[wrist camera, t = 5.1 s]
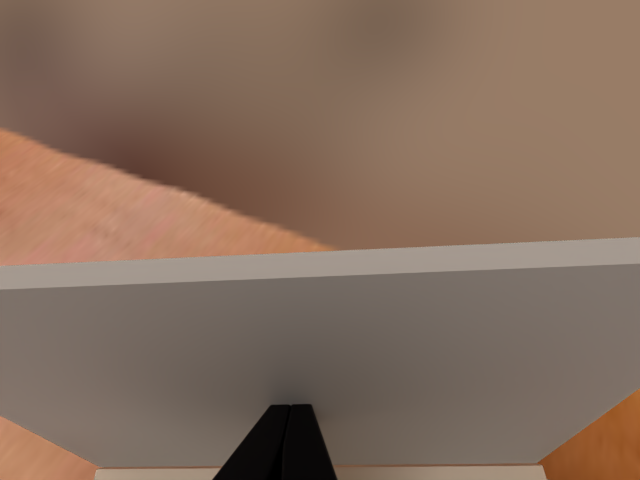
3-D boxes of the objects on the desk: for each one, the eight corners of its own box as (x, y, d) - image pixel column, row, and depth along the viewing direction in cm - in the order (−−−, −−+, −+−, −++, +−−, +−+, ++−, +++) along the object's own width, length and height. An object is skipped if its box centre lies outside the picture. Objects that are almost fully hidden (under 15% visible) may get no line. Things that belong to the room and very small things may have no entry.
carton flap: (820, 256, 4) (775, 231, 4) (-225, 298, 4) (-183, 274, 5) (536, 463, 10) (528, 445, 10) (99, 466, 10) (107, 449, 11)
